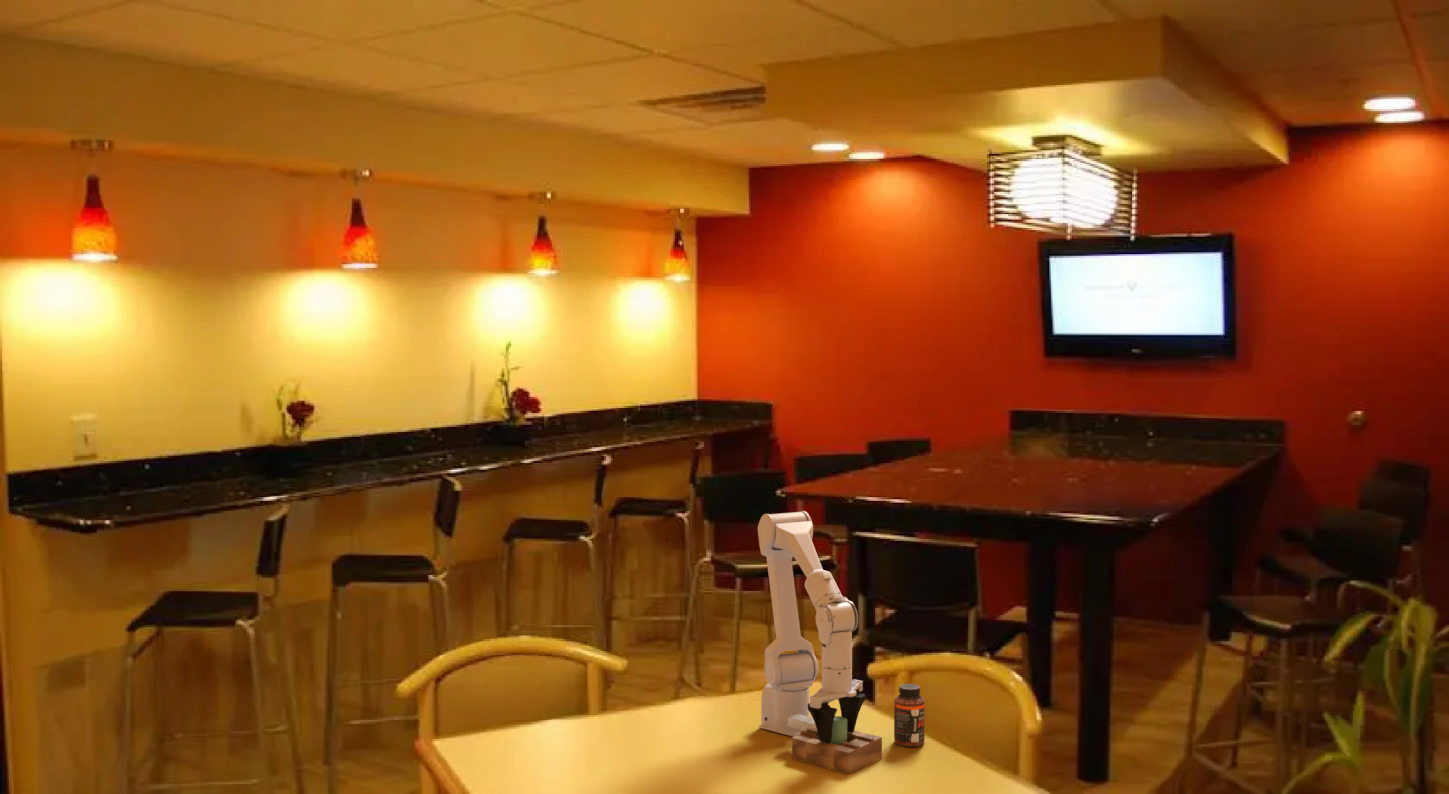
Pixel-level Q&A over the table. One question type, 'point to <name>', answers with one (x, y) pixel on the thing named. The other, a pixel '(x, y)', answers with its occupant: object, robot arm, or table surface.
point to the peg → (839, 730)
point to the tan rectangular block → (802, 723)
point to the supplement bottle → (909, 716)
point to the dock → (838, 751)
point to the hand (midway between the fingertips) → (836, 736)
